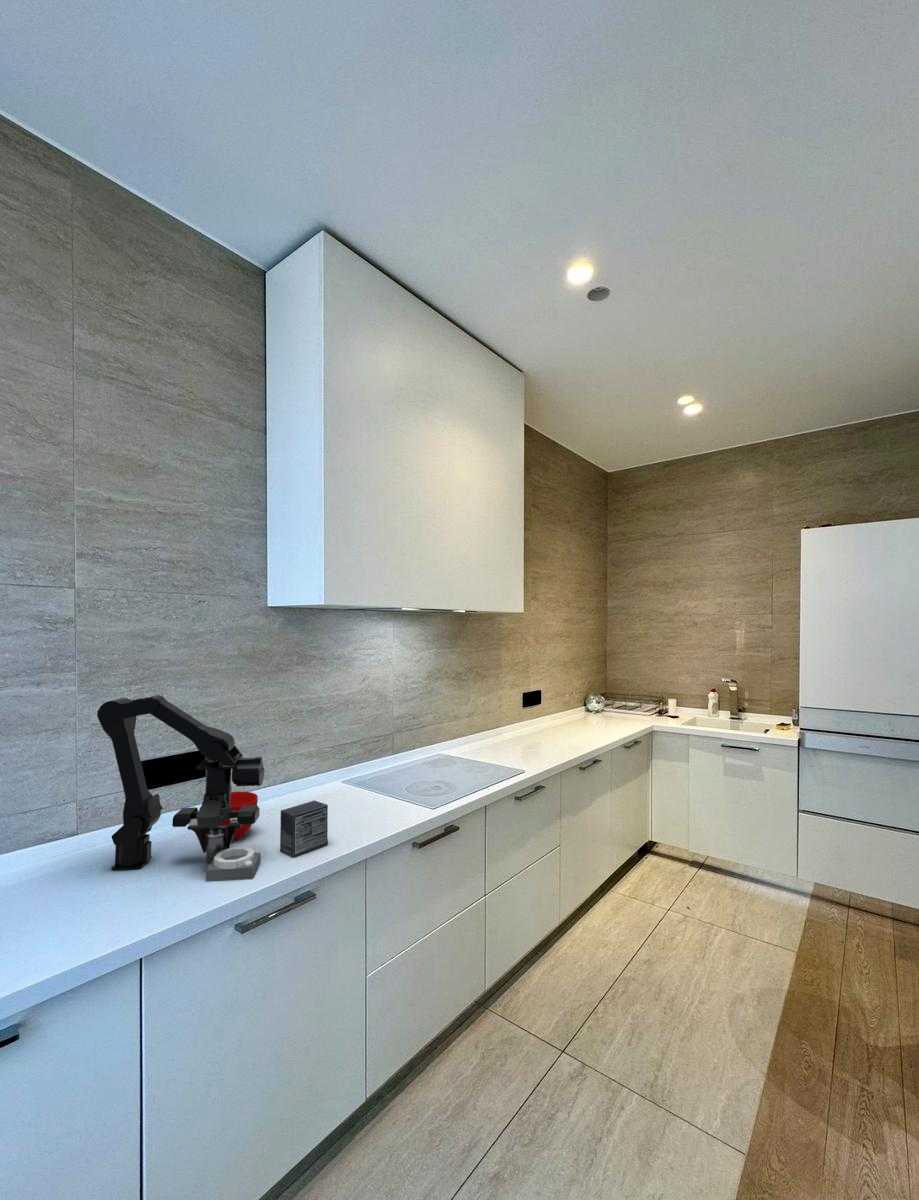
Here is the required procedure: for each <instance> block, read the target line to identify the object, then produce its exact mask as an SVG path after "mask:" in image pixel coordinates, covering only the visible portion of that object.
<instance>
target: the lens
mask: <svg viewBox="0 0 919 1200" xmlns="http://www.w3.org/2000/svg"><path fill="white" fill-rule="evenodd" d="M206 837H207V846H206V852H205V863H206V864H207V865H210V863H211V862H212V861H213V859H214V857H215V856H216V854H217V853H218V852H220V851H223V850H226V838H227V825H226V824H222V823H220V825H219V826H218V827H217V828H207V832H206Z"/></svg>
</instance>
